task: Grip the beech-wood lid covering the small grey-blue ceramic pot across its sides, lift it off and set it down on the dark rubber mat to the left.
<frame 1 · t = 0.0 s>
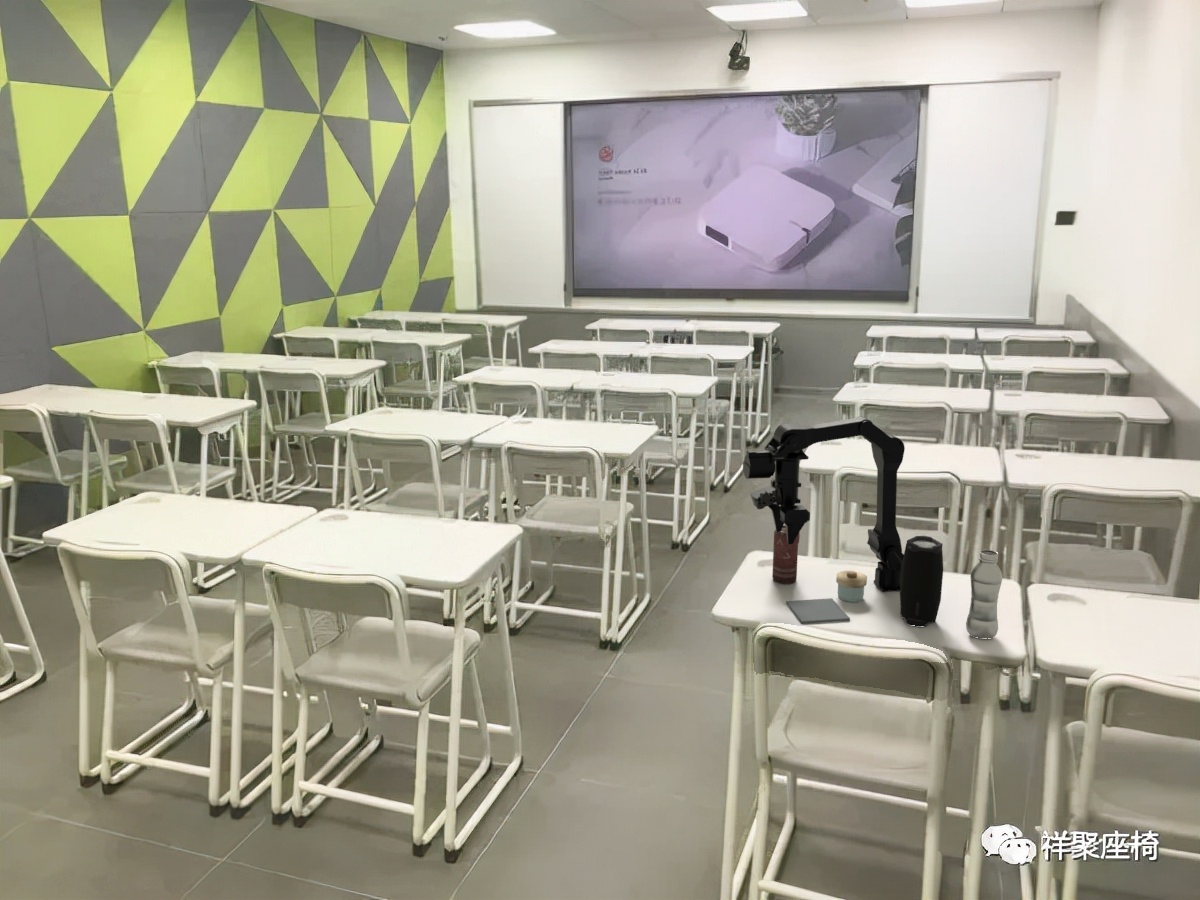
hand: (784, 537, 232), 15 cm above the table, tool pointing down, fingers open, 9 cm apart
mat: (817, 611, 225), on the table
portable speaker: (918, 621, 220), on the table
lid: (851, 582, 232), point 4 cm above the table, touching bowl
bowl: (850, 597, 233), on the table
plastic bottle: (980, 637, 211), on the table
can: (784, 580, 244), on the table
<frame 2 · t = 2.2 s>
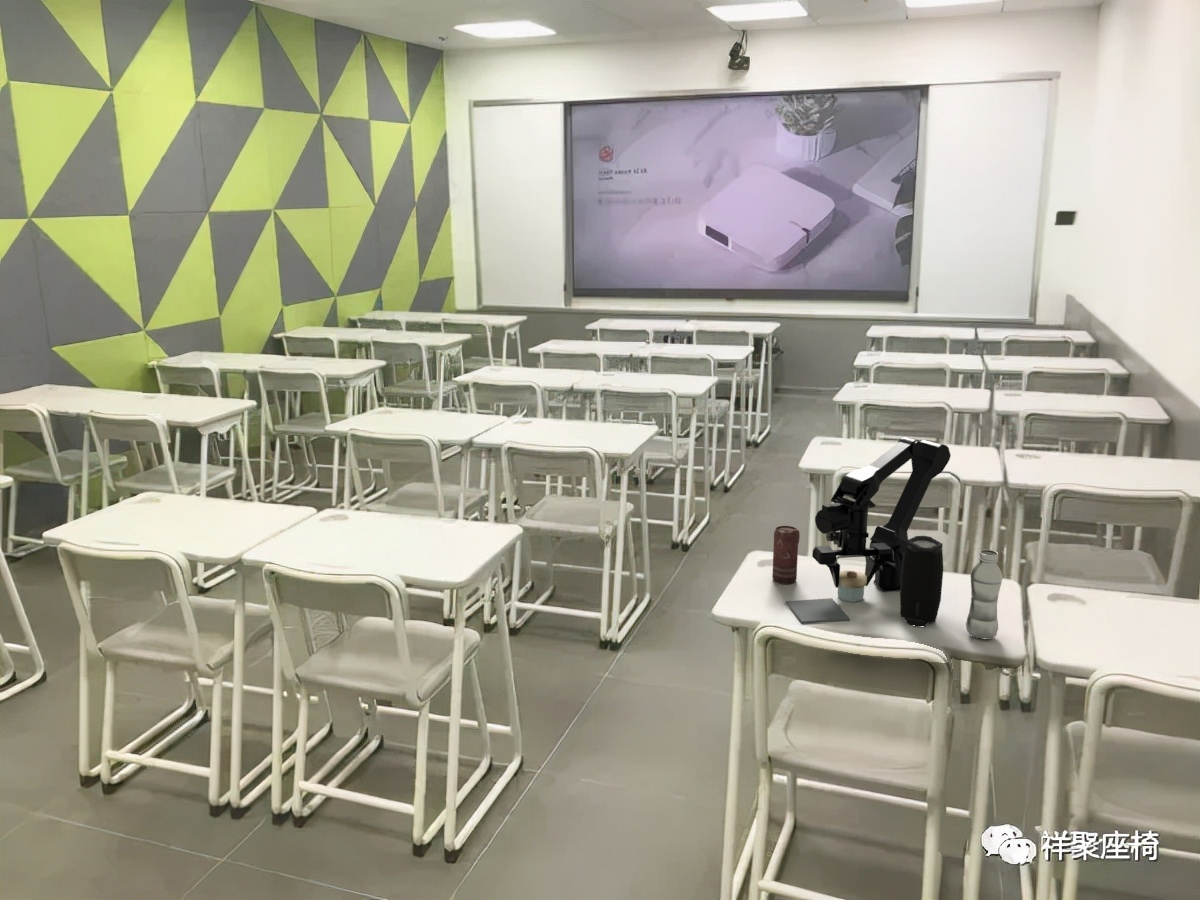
hand: (851, 586, 232), 3 cm above the table, tool pointing down, fingers closed on lid, 7 cm apart
lid: (851, 582, 232), point 4 cm above the table, touching bowl, gripper
everything else where it was.
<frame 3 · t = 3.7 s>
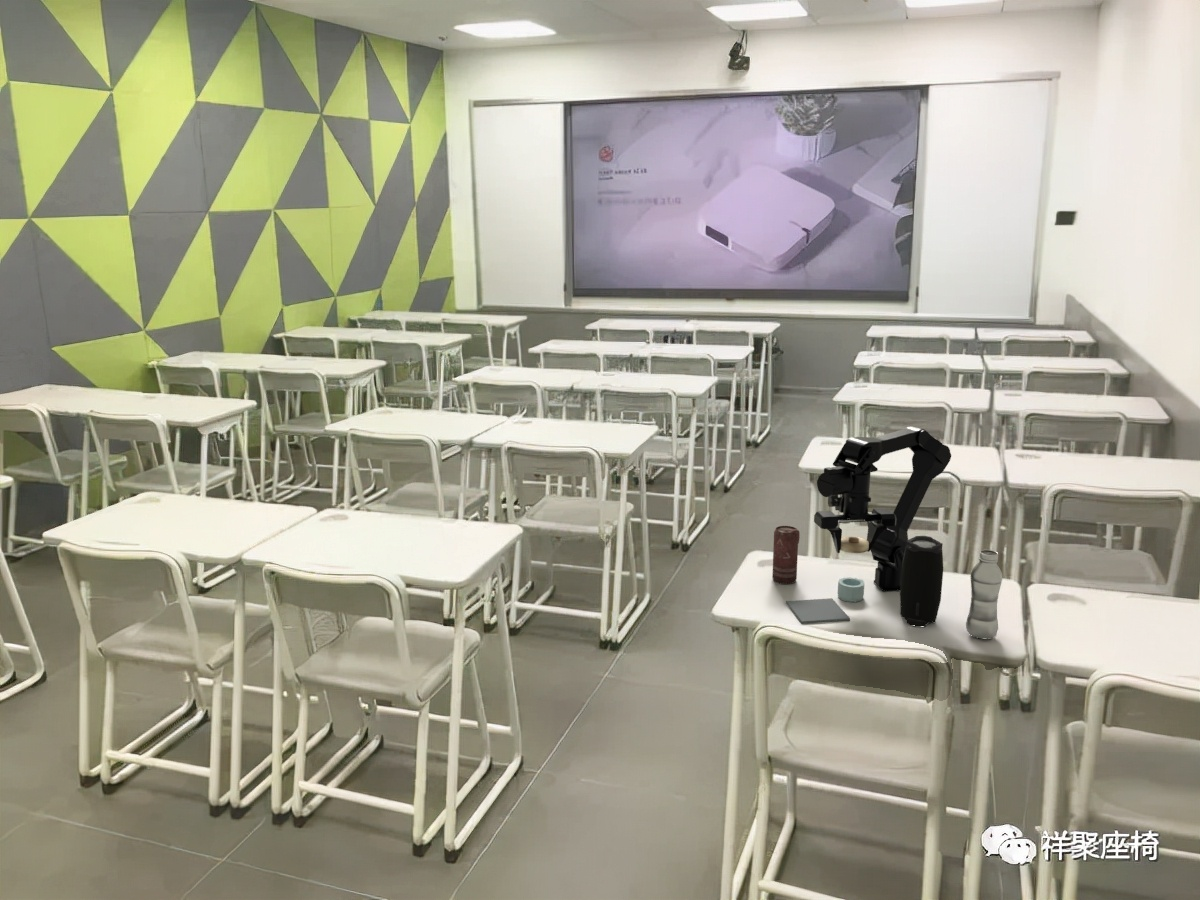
hand: (852, 551, 230), 12 cm above the table, tool pointing down, fingers closed on lid, 7 cm apart
lid: (853, 547, 229), point 13 cm above the table, touching gripper
everything else where it was.
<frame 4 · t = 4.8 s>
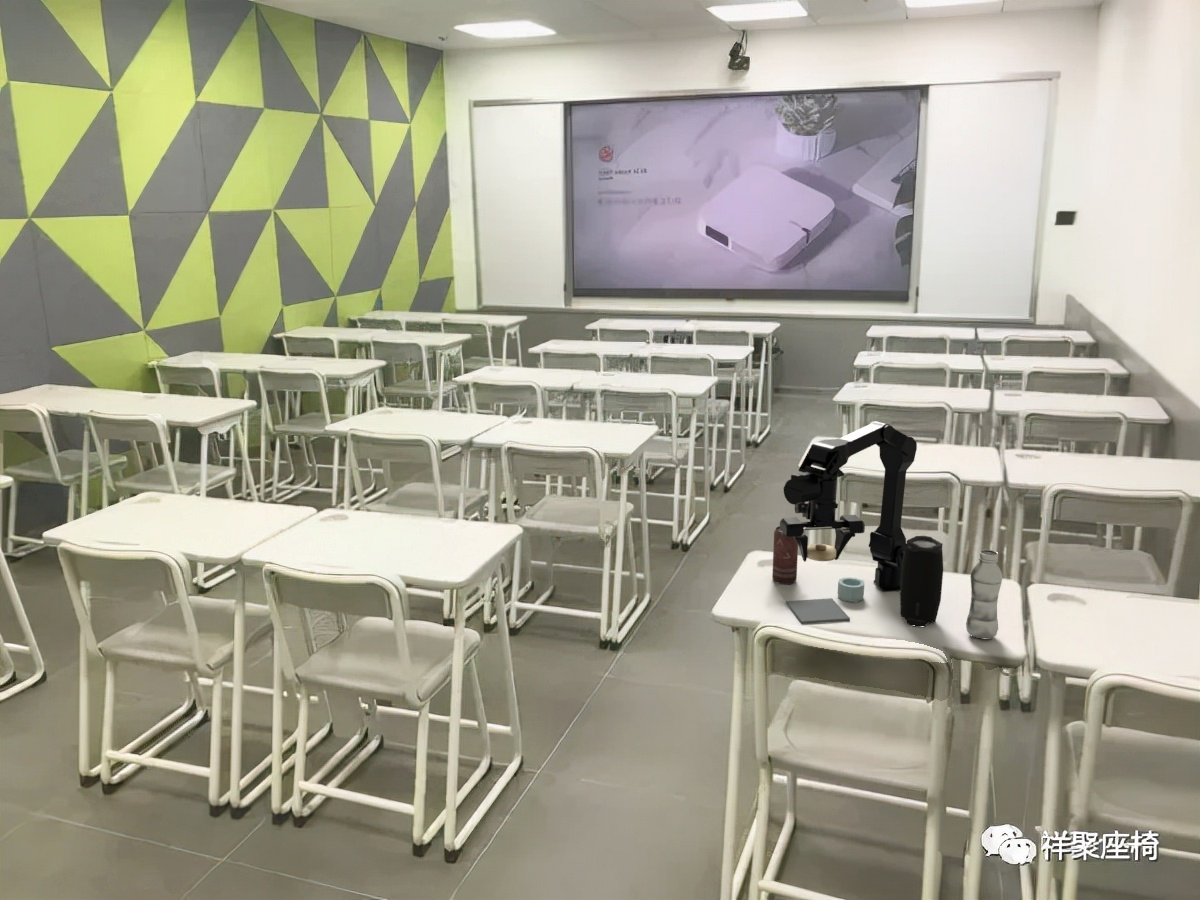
hand: (820, 560, 221), 13 cm above the table, tool pointing down, fingers closed on lid, 7 cm apart
lid: (820, 555, 221), point 14 cm above the table, touching gripper
everything else where it was.
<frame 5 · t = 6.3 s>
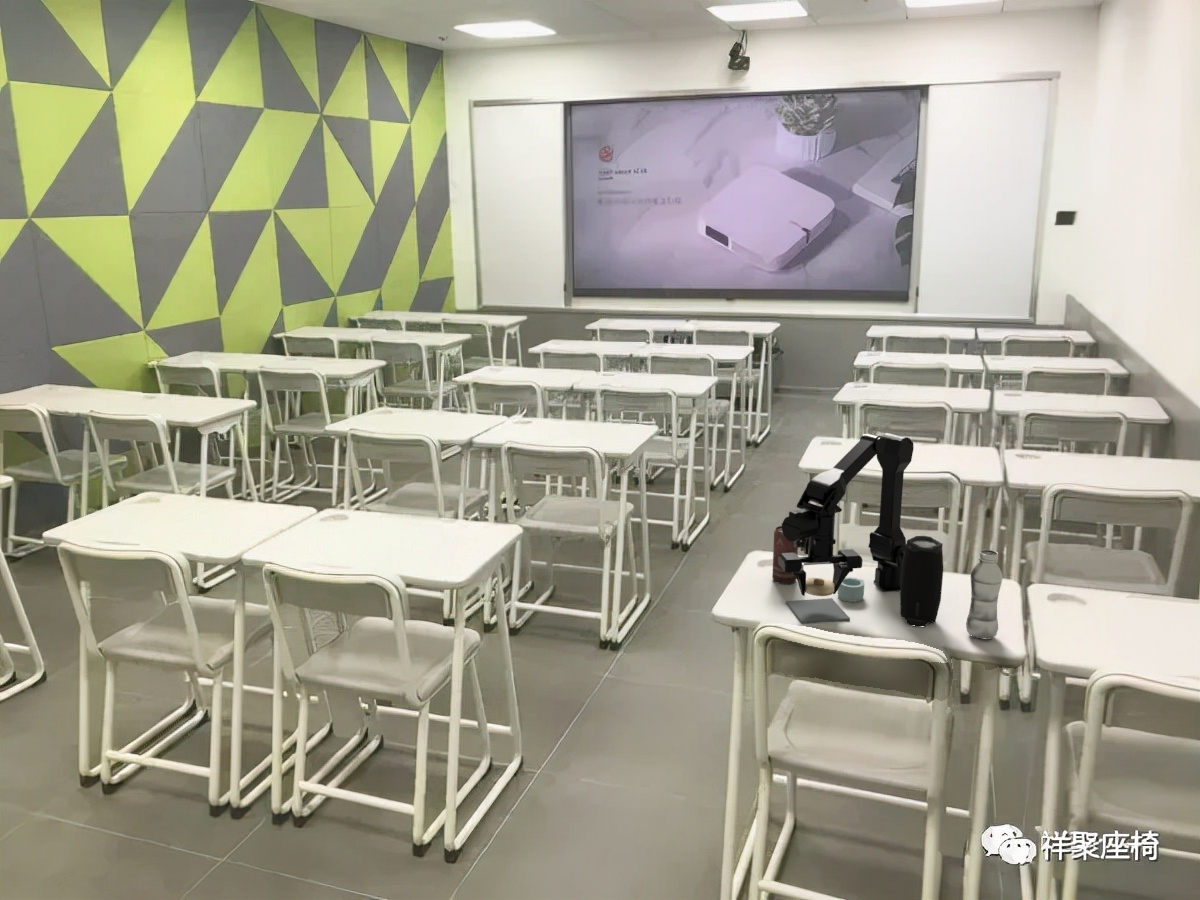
hand: (818, 594, 224), 4 cm above the table, tool pointing down, fingers closed on lid, 7 cm apart
lid: (818, 589, 223), point 6 cm above the table, touching gripper
everything else where it was.
when the fingers open (1 cm above the table, at t = 7.5 s): lid drops 2 cm, resting on mat.
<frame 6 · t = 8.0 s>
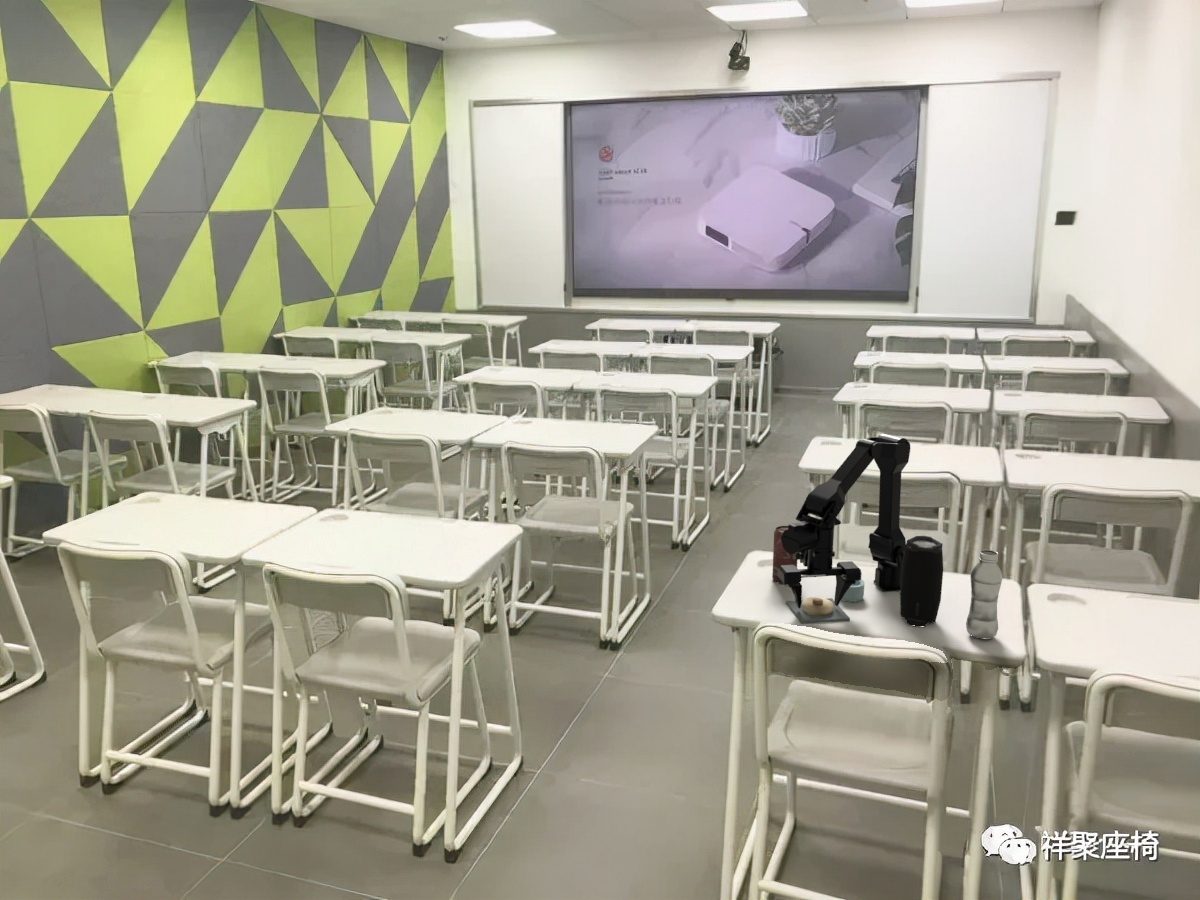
hand: (817, 606, 224), 1 cm above the table, tool pointing down, fingers open, 9 cm apart
lid: (817, 609, 225), point 1 cm above the table, touching mat
everything else where it was.
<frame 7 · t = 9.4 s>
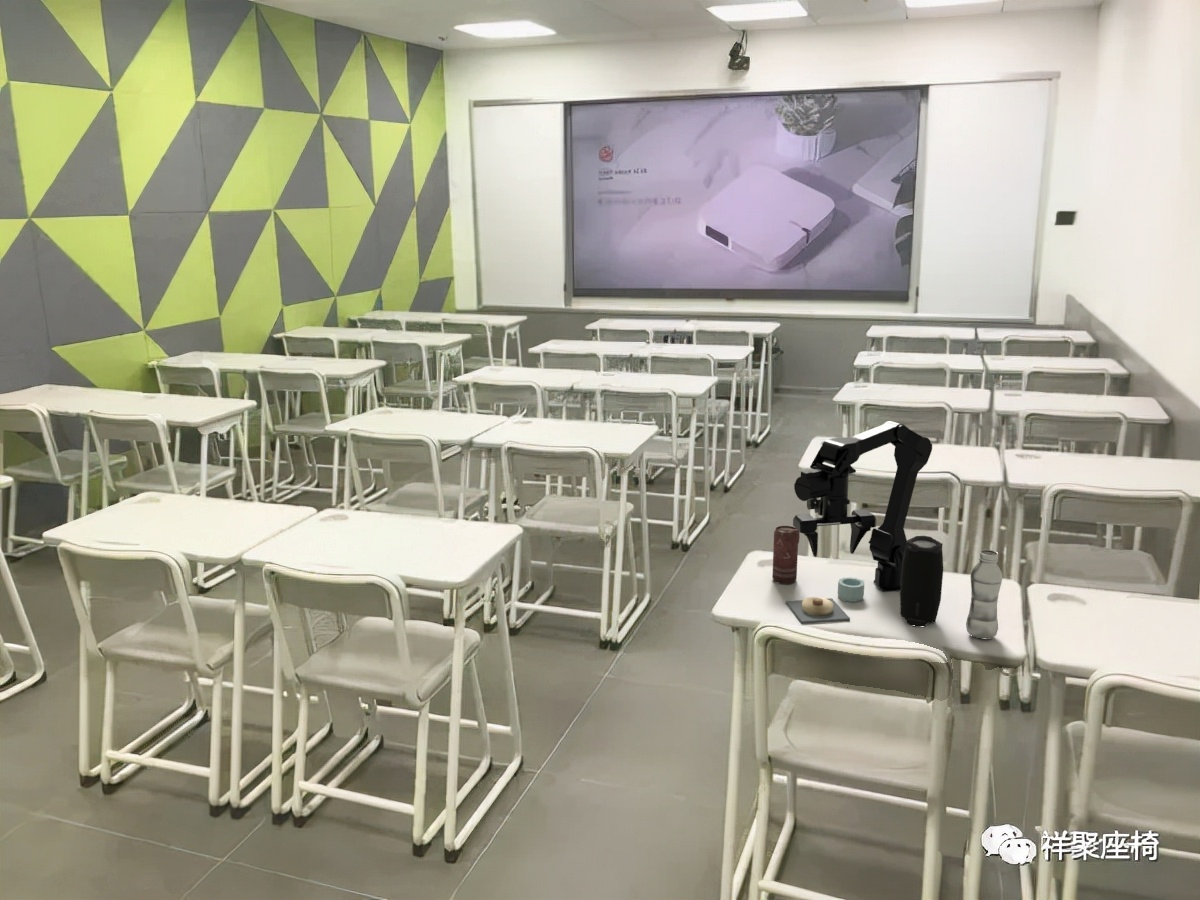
hand: (833, 554, 226), 12 cm above the table, tool pointing down, fingers open, 9 cm apart
nothing on the table moved.
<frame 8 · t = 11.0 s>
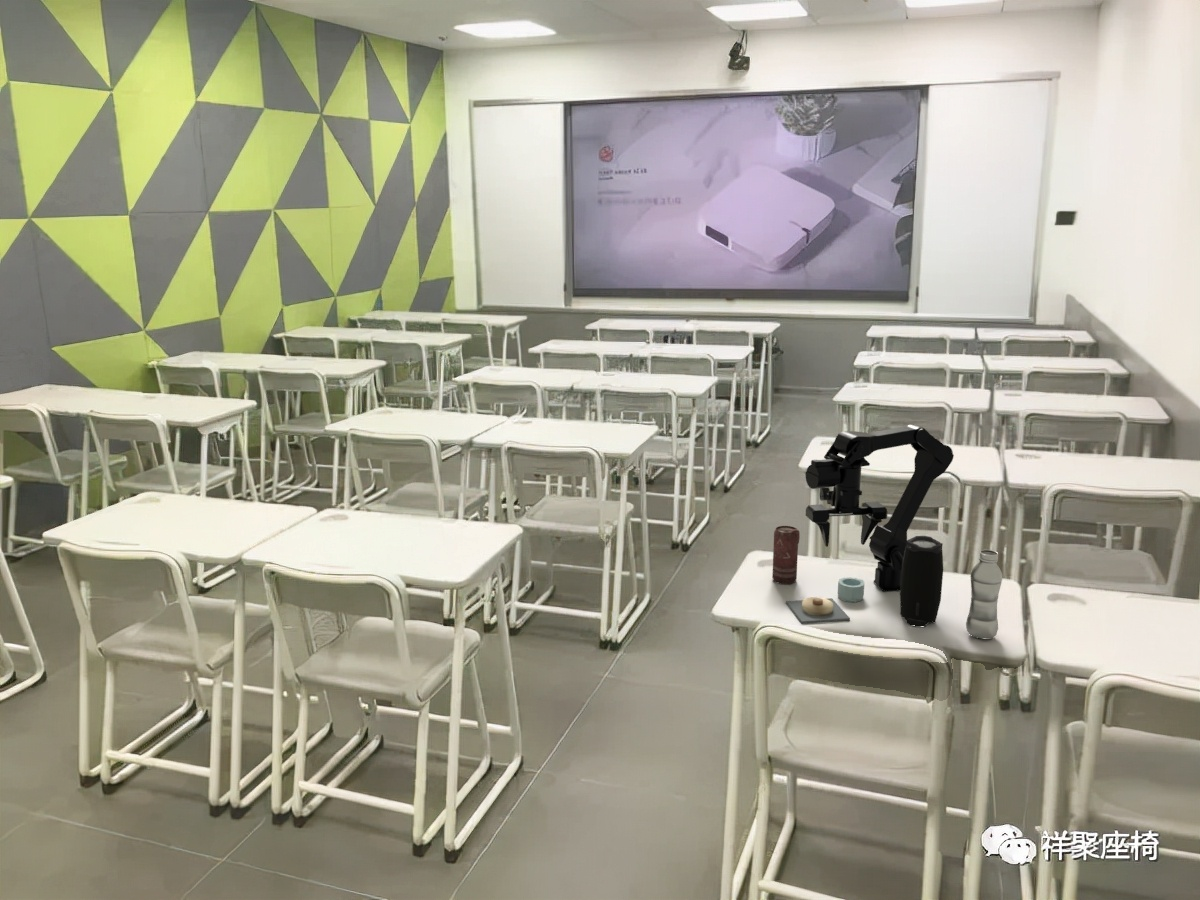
hand: (844, 545, 231), 13 cm above the table, tool pointing down, fingers open, 9 cm apart
nothing on the table moved.
at the end: lid inside the target area on the mat (0.0 cm from its centre), point 0.6 cm above the mat's base; lid touching mat; lid tilted 0° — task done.
